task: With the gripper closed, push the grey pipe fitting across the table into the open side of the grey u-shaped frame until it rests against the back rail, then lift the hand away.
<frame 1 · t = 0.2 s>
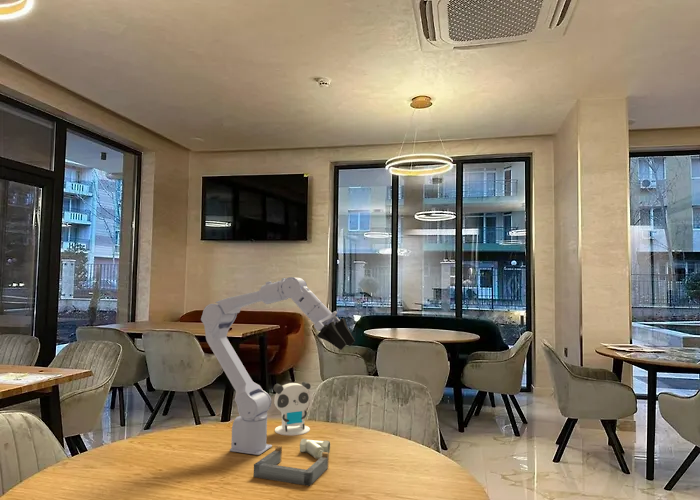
hand: (348, 345, 133), 31 cm above the table, tool tilted 45°, fingers open, 7 cm apart
pipe fitting: (313, 456, 135), on the table
grey u-shaped frame: (292, 471, 122), on the table
panda figurine: (291, 430, 158), on the table
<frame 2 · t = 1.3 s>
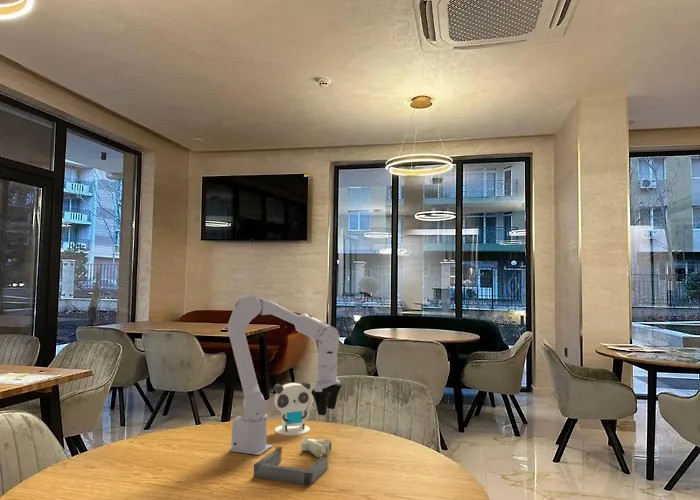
hand: (326, 411, 145), 9 cm above the table, tool pointing down, fingers open, 7 cm apart
nothing on the table moved.
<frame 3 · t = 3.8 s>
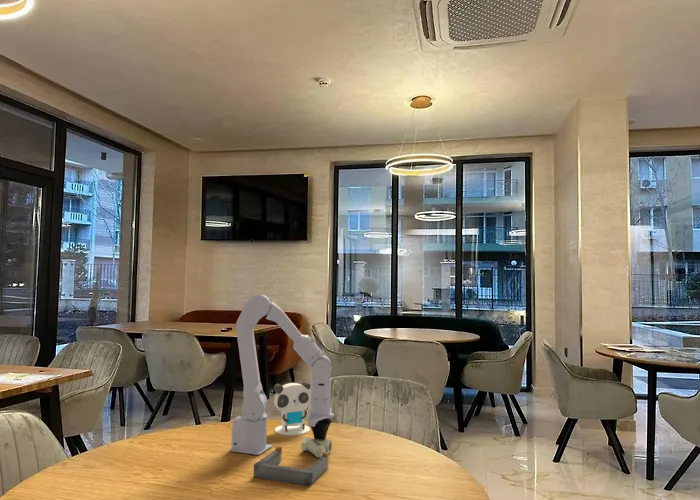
hand: (319, 445, 140), 1 cm above the table, tool pointing down, fingers closed
pipe fitting: (314, 454, 135), on the table, touching gripper
everything else where it was.
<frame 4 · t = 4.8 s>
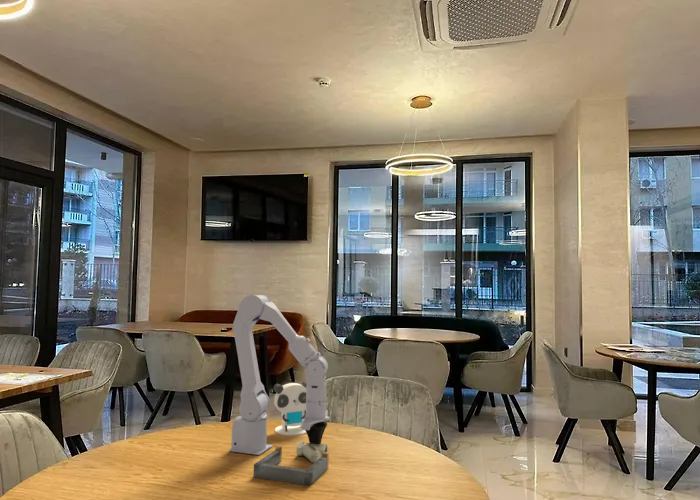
hand: (315, 449, 136), 1 cm above the table, tool pointing down, fingers closed
pipe fitting: (310, 460, 132), on the table, touching gripper
everything else where it was.
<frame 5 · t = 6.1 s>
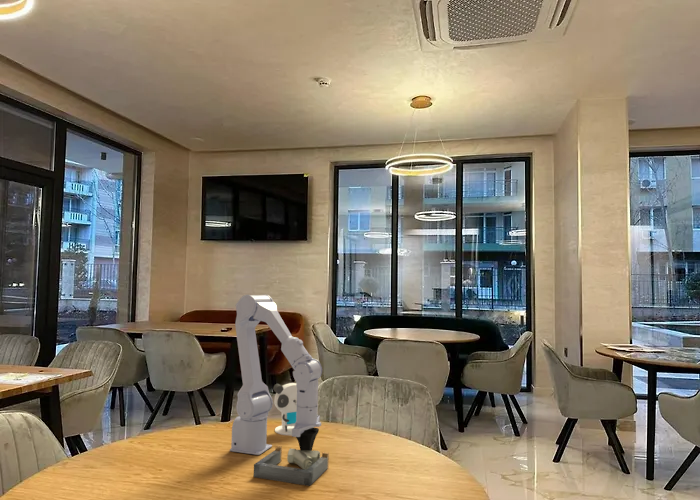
hand: (306, 456, 130), 1 cm above the table, tool pointing down, fingers closed
pipe fitting: (301, 467, 126), on the table, touching gripper
everything else where it was.
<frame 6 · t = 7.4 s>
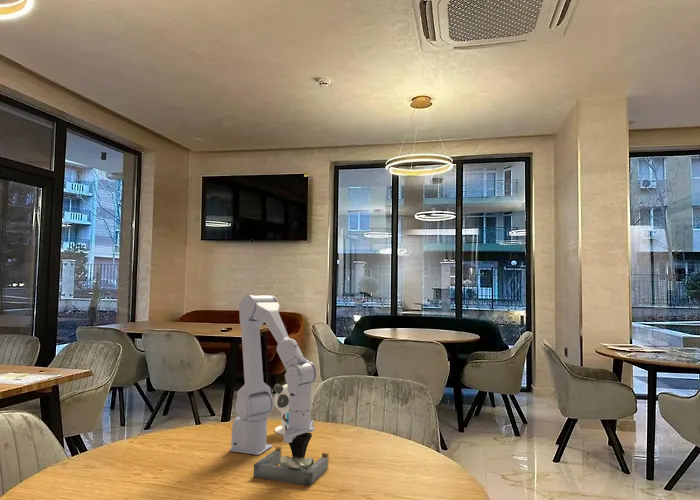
hand: (298, 462, 126), 1 cm above the table, tool pointing down, fingers closed
pipe fitting: (295, 475, 121), on the table
everything else where it was.
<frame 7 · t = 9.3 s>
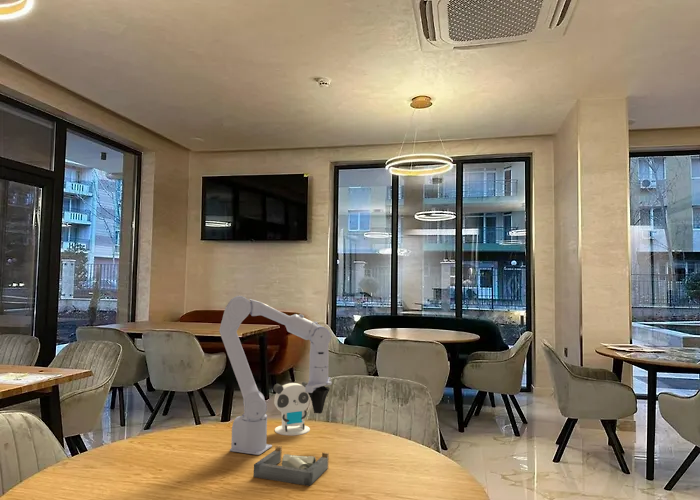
hand: (318, 412, 144), 9 cm above the table, tool pointing down, fingers closed
pipe fitting: (296, 473, 122), on the table
everything else where it was.
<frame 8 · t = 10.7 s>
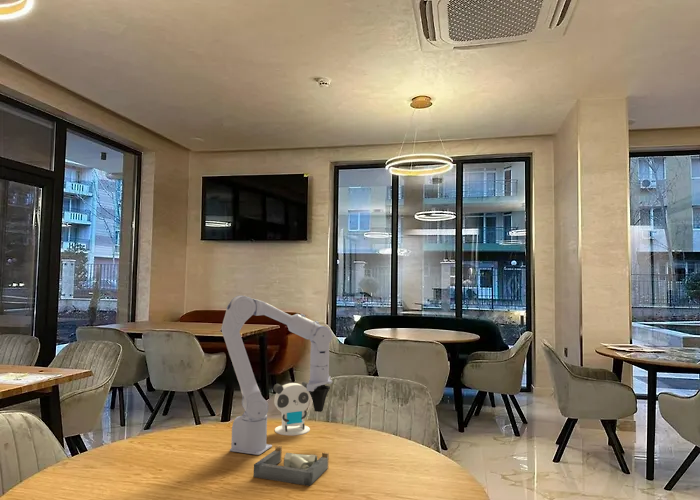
hand: (318, 411, 146), 9 cm above the table, tool pointing down, fingers closed
pipe fitting: (298, 472, 123), on the table
everything else where it was.
at the end: pipe fitting inside the target area on the grey u-shaped frame (2.0 cm from its centre), point -0.5 cm above the grey u-shaped frame's base; pipe fitting moved 11.6 cm from its start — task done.
